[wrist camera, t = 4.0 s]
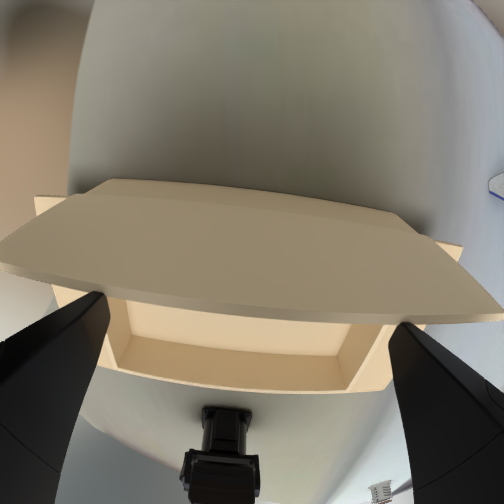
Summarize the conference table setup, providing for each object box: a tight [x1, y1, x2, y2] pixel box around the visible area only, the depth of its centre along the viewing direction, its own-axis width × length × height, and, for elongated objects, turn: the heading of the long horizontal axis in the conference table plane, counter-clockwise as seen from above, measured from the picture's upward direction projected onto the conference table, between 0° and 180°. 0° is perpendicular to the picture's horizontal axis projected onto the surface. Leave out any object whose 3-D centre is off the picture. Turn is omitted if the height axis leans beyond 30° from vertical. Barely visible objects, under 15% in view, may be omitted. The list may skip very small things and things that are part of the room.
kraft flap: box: [0, 194, 504, 325], centre depth 11 cm, size 8×22×1 cm
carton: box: [34, 178, 463, 394], centre depth 21 cm, size 16×30×5 cm, turn 83°
